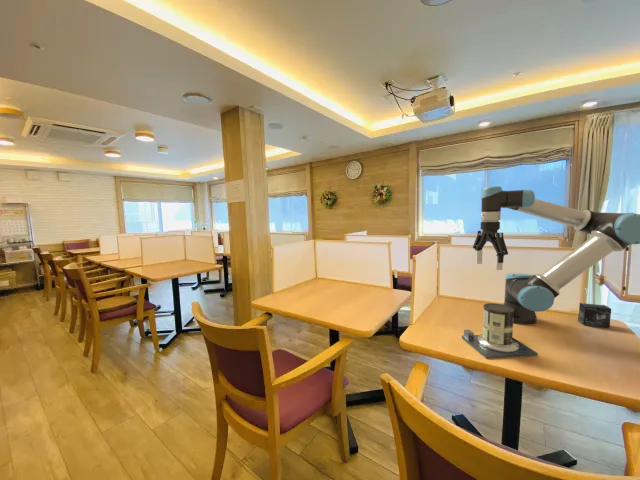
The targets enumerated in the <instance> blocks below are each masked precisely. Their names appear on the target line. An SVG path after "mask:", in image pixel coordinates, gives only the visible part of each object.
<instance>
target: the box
mask: <svg viewBox="0 0 640 480" xmlns="http://www.w3.org/2000/svg"><path fill="white" fill-rule="evenodd" d="M578 306H579V309H578V318H577V322H579V323H580V324H581V325H582V326H587V327H594V328H595V327H596V328H605V329H610V325H611V316H612V308H610V306H608V305H605V304H593V303H584V302H579V305H578Z"/></svg>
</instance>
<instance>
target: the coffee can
mask: <svg viewBox="0 0 640 480" xmlns="http://www.w3.org/2000/svg"><path fill="white" fill-rule="evenodd" d="M482 306H483V307H482V308H483V314H482V315H483V318H482V319H483V321H482V334H483V337H482V338H483V340H484V341H485V342H487V343H489V344H491V345H494V346H499V347H509V346H512V337H513V335H514V331H513V330H514V323H513V316H514V309H513V308H511V307H509V306H506V305H503V304H501V303H492V302H491V303H485V304H483V305H482Z"/></svg>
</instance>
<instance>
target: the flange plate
mask: <svg viewBox="0 0 640 480" xmlns="http://www.w3.org/2000/svg"><path fill="white" fill-rule="evenodd" d="M482 337H483V333H482V334H480V333H479V334H475V333H474V332H473V331H472V330H470V329H464V330H463V335H461V339H462V340H464V341H465V342H466V343H467V344H468V345H469V346H470V347H472V348H473V349H474V350H476V351H477V352H478V353H479V354H480V355H482V357H484V358H485V359H499V358H502V359H505V358H523V357H525V358H526V357H538V354H539V353H538V352H537V351H535V350H534V349H532V348H530V347H529V346H527V345H526V344H524V343H522V342H521V341H519V340H517V338H514V337H513V336H512V346H509V347H499V346H494V345H491V344H489V343H487V342H485V341H484V340H483V338H482Z"/></svg>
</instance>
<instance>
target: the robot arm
mask: <svg viewBox="0 0 640 480" xmlns="http://www.w3.org/2000/svg"><path fill="white" fill-rule="evenodd" d="M502 208H503V209H509V210H513V211H515V212H520V213H524V214H527V215H530V216H533V217H534V216H535V217H539V218H540V219H541V218H542V219H545V220H549V221H552V222H556V223H558V224H559V223H560V224H562V225H563V224H564V225H566V226H570V227H573V228H574V230H575V231H580V232H583V233H585V234H589V235H590V237H589V238H587V239H586V240H585V241H584V242H582V243H581V244H580V245H578V246H577V247H576V248H574V249H573V250H572V251H571V252H569V253H568V254H567V255H565V256H564V257H562V258H561V259H560V260H559V261H557V262H556V263H555V264H553V265H552V266H550V267H549V268H548V269H546V270H545V271H543V272H542V273H540V274H530V273H521V272H520V273H519V272H517V273H516V272H509V273H507V274H506V275H505V279H504V280H505V285H504V287H505V289H504V302H503V304H502V305H506V306H509V307H511V308H513V309H514V316H513V324H520V325H536V324H537V321H538V317H537V313H536V312H544V311H547V310H549V309H550V308H552V306H553V305H554V304H555V303H554V302H555V299H556V298H557V297H558V296H560V290H561V289H562V288H563V287H565V286H566V285H568V284H569V283H571V282H572V281H573V280H575V279H576V278H577V277H579V276H581V275H582V274H583V273H585V272H586V271H588V270H589V269H590V268H592V267H593V266H594V265H596V264H597V263H599V262H600V261H602V260H603V259H604V258H606V257H607V256H608V255H610V254H611V253H613V252H622V251H624V250H625V249H627V248H628V247H630V246H631V245H639V244H640V214H639V213H634V212H626V213H624V212H623V213H622V212H621V213H620V212H600V211H594V210H593V211H592V210H588V209H585V210H579V209H575V208H571V207H567V206H565V205H561V204H557V203H553V202H549V201H545V200H542V199H537V198H536V195H535V192H534V190H532V189H517V190H516V189H515V190H503V187H502V186H485V187H484V188H483V189H482V193H481V214H480V220H481V222H480V230H477V234H476V238H475V240H474V243H473V246H472V248H473V249H474V250H475V265H482V264H483V252H484V251H483V248H484V247H485V245H486V244H487V243H491V244H492V246H493V249H494V250H495V252H496V254H495V268H494V270H495V271H502V270H503V265H504V258H505V257H504V256H506V255H507V256H508V254H509V251H508V248H507V245H506V242H505V239H504V233H503V232H498V231H499V230H500V229H501V222H500V221H501V215H502V214H501V213H502V212H501V211H502Z"/></svg>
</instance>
